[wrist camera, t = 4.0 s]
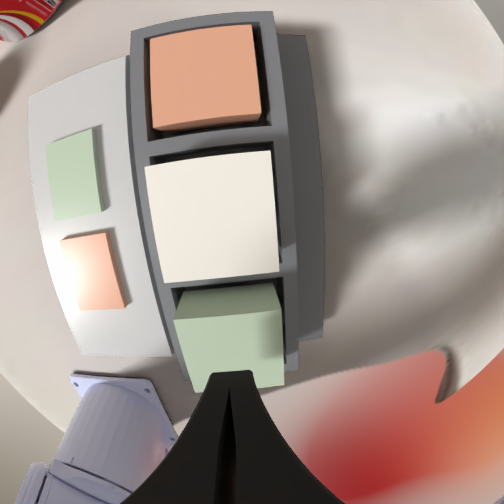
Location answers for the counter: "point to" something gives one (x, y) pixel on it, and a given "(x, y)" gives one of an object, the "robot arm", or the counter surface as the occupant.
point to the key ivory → (214, 216)
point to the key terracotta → (204, 79)
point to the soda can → (24, 17)
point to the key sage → (232, 333)
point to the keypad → (137, 202)
